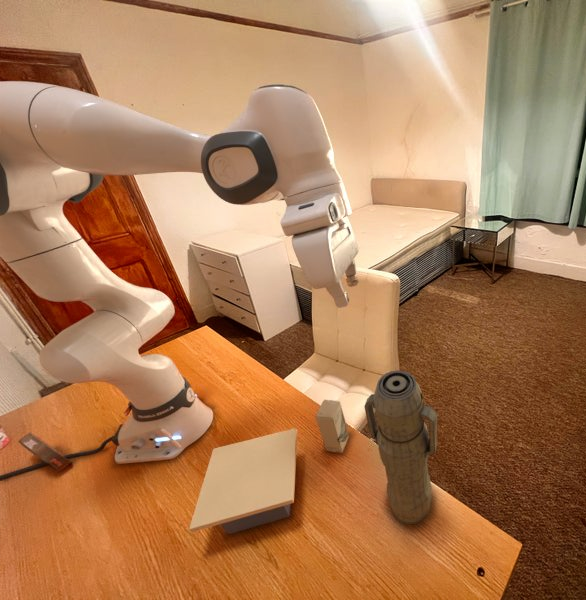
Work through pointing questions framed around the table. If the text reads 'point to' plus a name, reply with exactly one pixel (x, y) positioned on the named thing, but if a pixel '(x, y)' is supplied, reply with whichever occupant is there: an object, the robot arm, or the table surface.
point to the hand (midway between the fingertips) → (349, 294)
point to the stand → (248, 483)
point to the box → (332, 425)
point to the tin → (44, 451)
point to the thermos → (403, 443)
